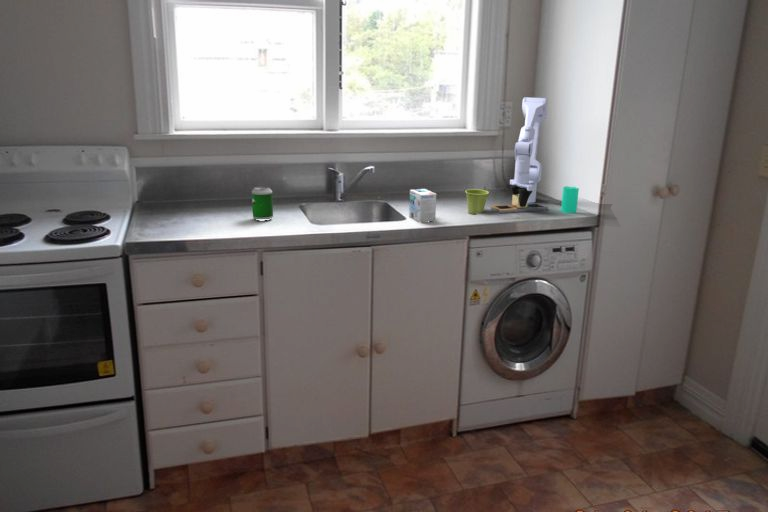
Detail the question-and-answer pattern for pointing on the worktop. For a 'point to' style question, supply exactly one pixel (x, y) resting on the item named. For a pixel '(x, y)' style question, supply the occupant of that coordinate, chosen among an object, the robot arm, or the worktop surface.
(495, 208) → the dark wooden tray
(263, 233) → the worktop surface
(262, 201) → the soda can
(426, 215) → the light bulb box
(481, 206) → the plant pot
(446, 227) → the worktop surface
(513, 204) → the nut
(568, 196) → the candle
